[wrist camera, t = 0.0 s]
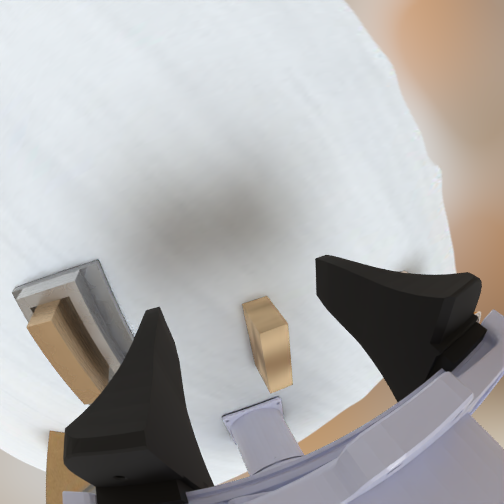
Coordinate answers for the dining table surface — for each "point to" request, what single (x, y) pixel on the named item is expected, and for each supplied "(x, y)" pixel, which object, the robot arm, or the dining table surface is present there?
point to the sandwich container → (61, 472)
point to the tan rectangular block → (269, 343)
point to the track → (77, 326)
